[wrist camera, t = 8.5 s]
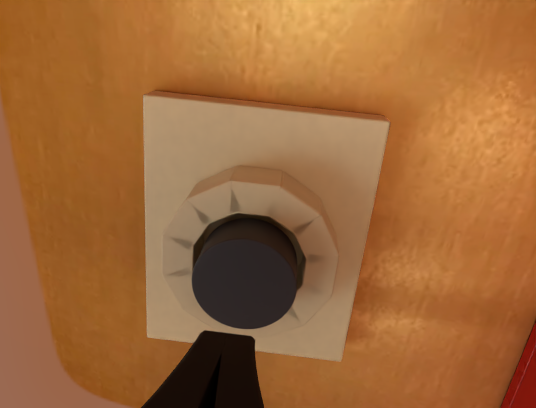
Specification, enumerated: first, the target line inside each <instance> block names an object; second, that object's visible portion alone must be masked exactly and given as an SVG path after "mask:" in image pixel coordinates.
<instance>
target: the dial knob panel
mask: <svg viewBox="0 0 536 408" xmlns="http://www.w3.org/2000/svg"><path fill="white" fill-rule="evenodd" d="M143 119H144V180H145V241H146V302H147V337H149V338H157V339H165V340H173V341H181V342H189V343H194V342H195V341H196V339H197V337H198V336H199V334H200V333H201V332H203V331H204V330H207V331H216V332H224V333H232V334H240V335H248V336H252V337H253V338H254V339H255V340H256V341H255V351H260V352H268V353H276V354H284V355H292V356H300V357H308V358H316V359H324V360H332V361H342V357H343V352H344V347H345V342H346V338H347V333H348V328H349V323H350V318H351V313H352V308H353V303H354V299H355V294H356V289H357V284H358V279H359V274H360V269H361V265H362V260H363V255H364V250H365V245H366V240H367V235H368V230H369V226H370V221H371V216H372V211H373V206H374V201H375V196H376V192H377V187H378V182H379V177H380V172H381V167H382V162H383V157H384V153H385V148H386V143H387V138H388V133H389V128H390V121H389V120H388V119H387V118H386V117H385V116H383V115H375V114H365V113H356V112H347V111H338V110H328V109H319V108H310V107H301V106H291V105H282V104H273V103H264V102H254V101H245V100H236V99H227V98H217V97H208V96H199V95H190V94H180V93H171V92H162V91H152V92H150V93H147V94H145V95H144V96H143ZM239 218H255V219H260V220H264V221H267V222H269V223H271V224H273V225H275V226H276V227H278V228H279V229H280V230H282V231H283V232H284V233H285V234H286V235H287V236H288V238H289V239H290V240H291V242H292V244H293V246H294V248H295V251H296V255H297V292H296V297H295V300H294V302H293V304H292V306H291V308H290V309H289V311H288V312H287V313H286V314H285V315H284V316H283V317H282V318H281V319H279V320H278V321H276V322H275V323H273V324H271V325H268V326H266V327H262V328H257V329H238V328H233V327H229V326H226V325H224V324H221V323H220V322H218V321H216V320H214V319H213V318H211V317H210V316H209V315H208V314H207V313H206V312H205V311H204V310H203V309H202V308H201V307H200V305H199V304H198V302H197V300H196V298H195V296H194V293H193V289H192V272H193V268H194V266H195V264H196V261H197V259H198V257H199V255H200V253H201V250H202V248H203V246H204V244H205V242H206V240H207V238H208V236H209V235H210V234H211V233H212V232H213V231H214V230H215V229H216V228H217V227H218V226H220V225H222V224H223V223H225V222H228V221H230V220H234V219H239Z"/></svg>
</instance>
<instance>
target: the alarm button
mask: <svg viewBox="0 0 536 408" xmlns="http://www.w3.org/2000/svg"><path fill="white" fill-rule="evenodd" d="M192 289H193V293H194V296H195V298H196V300H197V302H198V304H199V305H200V307H201V308H202V309H203V310H204V311H205V312H206V313H207V314H208V315H209V316H210V317H211V318H213V319H214V320H216V321H218V322H220V323H221V324H224V325H226V326H229V327H233V328H238V329H257V328H262V327H266V326H268V325H271V324H273V323H275V322H276V321H278V320H279V319H281V318H282V317H283V316H284V315H285V314H286V313H287V312H288V311H289V309H290V308H291V306H292V304H293V302H294V300H295V297H296V292H297V255H296V251H295V248H294V246H293V244H292V242H291V240H290V239H289V238H288V236H287V235H286V234H285V233H284V232H283V231H282V230H280V229H279V228H278V227H276V226H275V225H273V224H271V223H269V222H267V221H264V220H260V219H255V218H239V219H234V220H230V221H228V222H225V223H223V224H222V225H220V226H218V227H217V228H216V229H215V230H214V231H213V232H212V233H211V234H210V235H209V236H208V238H207V240H206V242H205V244H204V246H203V248H202V250H201V253H200V255H199V257H198V259H197V261H196V264H195V266H194V268H193V272H192Z"/></svg>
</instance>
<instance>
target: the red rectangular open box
mask: <svg viewBox="0 0 536 408" xmlns="http://www.w3.org/2000/svg"><path fill="white" fill-rule="evenodd" d="M501 408H536V322H535V325H534V327H533V330H532V332H531V334H530V337H529V339H528V342H527V344H526V347H525V349H524V352H523V354H522V356H521V359H520V361H519V364H518V366H517V369H516V371H515V374H514V376H513V378H512V381H511V383H510V386H509V388H508V391H507V393H506V396H505V398H504V401H503V403H502V405H501Z"/></svg>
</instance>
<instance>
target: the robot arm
mask: <svg viewBox="0 0 536 408" xmlns="http://www.w3.org/2000/svg"><path fill="white" fill-rule="evenodd" d="M255 341H256V340H255V339H254V338H253V337H252V336H248V335H240V334H232V333H224V332H216V331H207V330H204V331H203V332H201V333H200V334H199V336H198V337H197V339H196V341H195V342H194V343H193V345H192V346H191V348H190V349H189V351H188V352H187V353H186V355H185V356H184V358H183V359H182V360H181V361H180V363H179V364H178V365H177V367H176V368H175V369H174V370H173V372H172V373H171V374H170V375H169V376H168V378H167V379H166V380H165V381H164V383H163V384H162V385H161V386H160V387H159V389H158V390H157V391H156V392H155V393H154V394H153V395H152V396H151V398H150V399H149V400H148V401H147V402H146V403H145V404H144V405H143V406H142V407H141V408H264V404H263V400H262V396H261V391H260V387H259V382H258V376H257V369H256V361H255Z"/></svg>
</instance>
